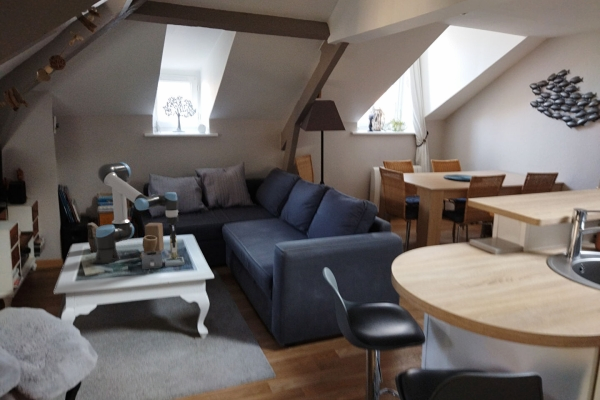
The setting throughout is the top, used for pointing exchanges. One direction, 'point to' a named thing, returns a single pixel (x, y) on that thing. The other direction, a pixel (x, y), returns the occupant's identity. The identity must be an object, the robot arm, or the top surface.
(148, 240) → the stone cup
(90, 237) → the owl
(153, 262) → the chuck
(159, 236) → the wooden block
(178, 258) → the tray
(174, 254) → the cylindrical container
